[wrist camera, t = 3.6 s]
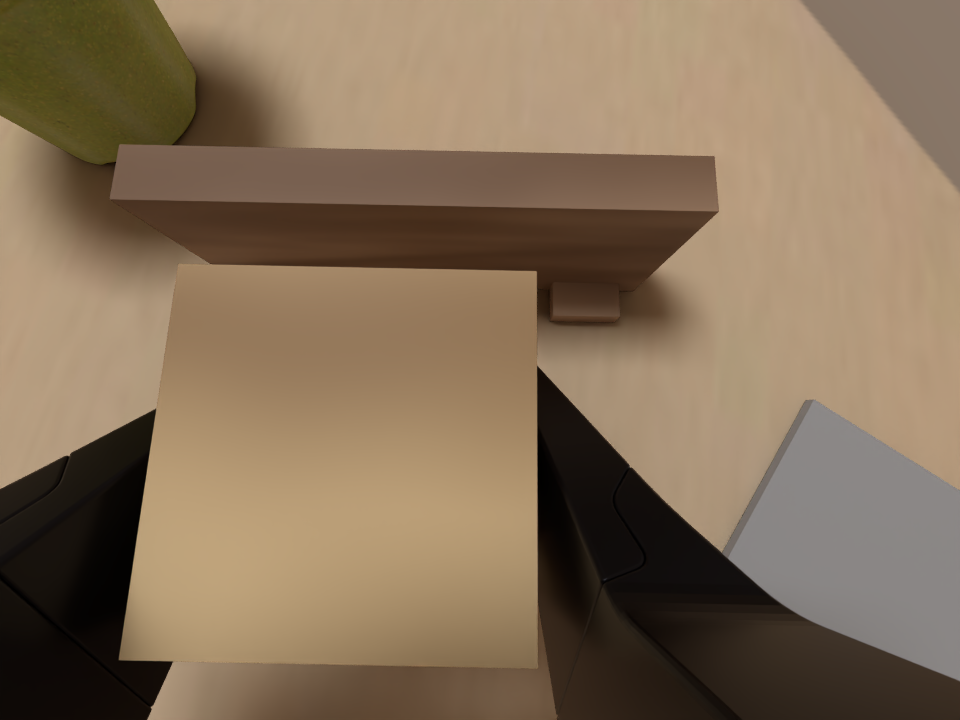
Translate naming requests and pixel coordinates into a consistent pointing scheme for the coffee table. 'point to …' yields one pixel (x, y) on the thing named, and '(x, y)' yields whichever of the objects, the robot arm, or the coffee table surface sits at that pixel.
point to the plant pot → (94, 75)
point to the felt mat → (857, 540)
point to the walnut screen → (428, 211)
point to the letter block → (342, 471)
